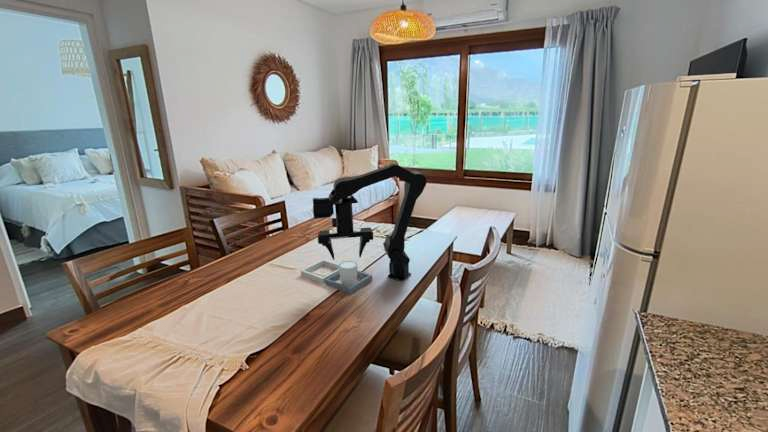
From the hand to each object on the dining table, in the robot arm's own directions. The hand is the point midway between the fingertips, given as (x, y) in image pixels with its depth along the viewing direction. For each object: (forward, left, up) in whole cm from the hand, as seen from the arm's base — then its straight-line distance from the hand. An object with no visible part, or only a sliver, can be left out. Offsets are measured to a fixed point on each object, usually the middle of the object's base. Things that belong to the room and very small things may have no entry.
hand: (346, 258), depth 122 cm
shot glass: (0, 0, -10) cm, 10 cm away
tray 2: (0, 0, -10) cm, 10 cm away
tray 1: (+13, 0, -10) cm, 16 cm away
